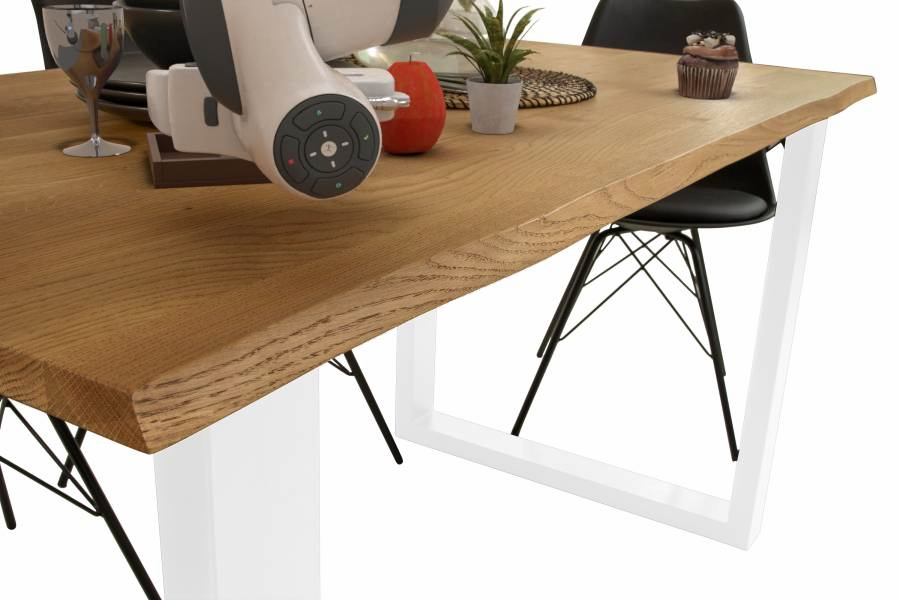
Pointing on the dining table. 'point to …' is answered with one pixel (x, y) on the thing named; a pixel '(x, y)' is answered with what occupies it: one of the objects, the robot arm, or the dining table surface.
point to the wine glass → (87, 59)
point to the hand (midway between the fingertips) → (261, 81)
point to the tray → (197, 167)
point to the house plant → (493, 71)
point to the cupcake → (708, 66)
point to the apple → (415, 110)
